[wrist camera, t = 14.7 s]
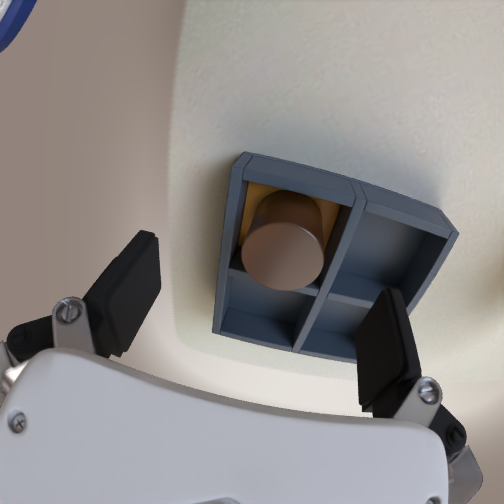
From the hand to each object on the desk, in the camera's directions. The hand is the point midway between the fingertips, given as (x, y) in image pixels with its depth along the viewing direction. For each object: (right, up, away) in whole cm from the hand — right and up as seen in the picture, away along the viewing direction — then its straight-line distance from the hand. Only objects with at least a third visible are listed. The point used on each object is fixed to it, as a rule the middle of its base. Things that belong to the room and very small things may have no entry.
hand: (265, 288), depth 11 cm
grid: (+4, +1, +8) cm, 9 cm away
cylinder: (+2, +3, +5) cm, 7 cm away
